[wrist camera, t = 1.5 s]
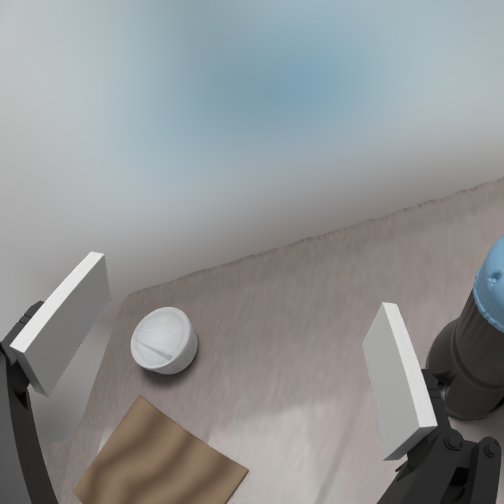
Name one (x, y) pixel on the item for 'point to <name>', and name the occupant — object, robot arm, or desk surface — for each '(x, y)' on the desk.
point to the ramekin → (164, 341)
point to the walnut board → (157, 465)
